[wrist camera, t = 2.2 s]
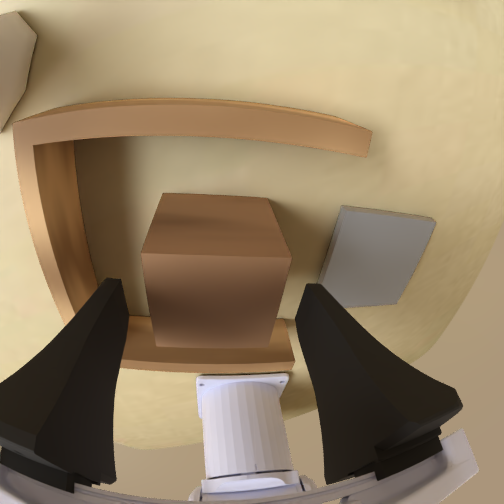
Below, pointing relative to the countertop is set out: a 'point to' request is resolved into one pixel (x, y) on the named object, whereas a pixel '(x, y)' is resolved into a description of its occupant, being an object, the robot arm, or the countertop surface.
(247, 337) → the walnut block
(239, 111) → the oak bracket
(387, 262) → the slate coaster
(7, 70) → the flask
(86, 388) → the robot arm
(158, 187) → the countertop surface
